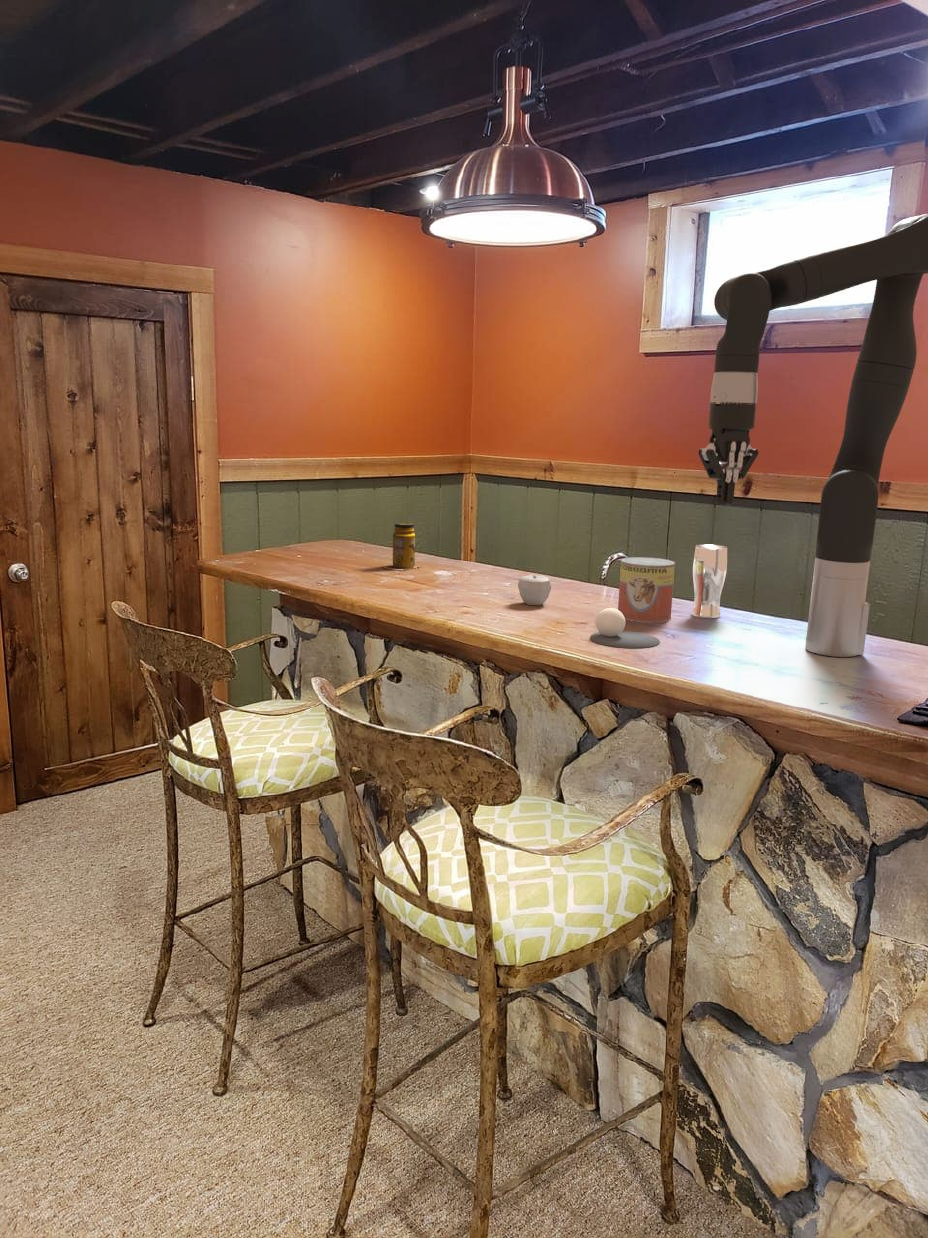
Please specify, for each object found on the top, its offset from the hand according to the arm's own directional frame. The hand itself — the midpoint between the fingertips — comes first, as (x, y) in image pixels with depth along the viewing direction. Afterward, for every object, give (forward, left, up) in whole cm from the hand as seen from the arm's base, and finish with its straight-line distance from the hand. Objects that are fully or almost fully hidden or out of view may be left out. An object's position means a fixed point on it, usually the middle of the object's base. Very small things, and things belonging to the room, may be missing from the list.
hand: (724, 504), depth 157 cm
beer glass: (-10, -34, -27) cm, 45 cm away
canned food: (+4, -32, -27) cm, 42 cm away
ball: (+15, -14, -24) cm, 32 cm away
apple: (+26, -44, -27) cm, 58 cm away
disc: (+13, -11, -27) cm, 32 cm away
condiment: (+56, -91, -27) cm, 110 cm away
